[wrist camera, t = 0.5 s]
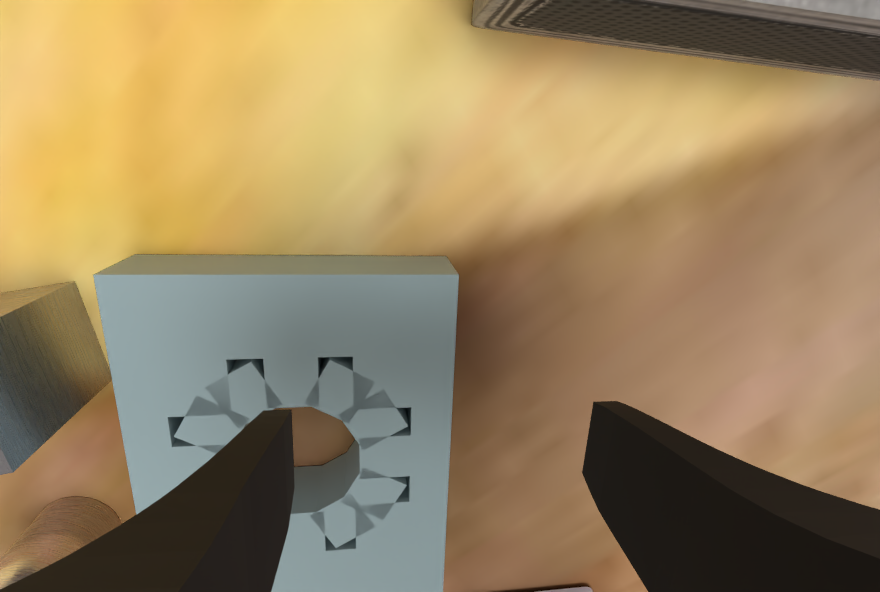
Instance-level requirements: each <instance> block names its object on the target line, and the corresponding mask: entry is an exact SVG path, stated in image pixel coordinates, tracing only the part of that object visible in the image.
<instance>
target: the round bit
mask: <svg viewBox="0 0 880 592" xmlns="http://www.w3.org/2000/svg"><path fill="white" fill-rule="evenodd" d="M119 525H121V522H120V520H119V518H118V516H117V515H116V513H115V512H114V511H113V510H112V509H111V508H110V507H108V506H107V505H105V504H104V503H102V502H100V501H97V500H95V499H91V498H87V497H66V498H62V499H59V500H56V501H54V502H52V503H51V504H49V505H48V506H47V507H45V508H44V509H43V511H42V512H41V513H40V514H39V515H38V516H37V517H36V519H35V520H34V521H33V522H32V523H31V524H30V525H29V526H28V528H27V529H26V530H25V531H24V532H23V533H22V534H21V536H20V537H19V538H18V539H17V540H16V541H15V542H14V544H13V545H12V546H11V547H10V548H9V549H8V550H7V551H6V553H5V554H4V555H3V556H2V557H1V558H0V589H2V588H4V587H6V586H8V585H10V584H12V583H14V582H17V581H19V580H21V579H23V578H25V577H27V576H29V575H31V574H33V573H35V572H37V571H39V570H41V569H43V568H45V567H47V566H49V565H50V564H52V563H54V562H56V561H58V560H60V559H62V558H64V557H66V556H68V555H69V554H71V553H73V552H75V551H76V550H78V549H80V548H82V547H83V546H85V545H87V544H88V543H90V542H92V541H94V540H95V539H97V538H99V537H100V536H102V535H104V534H106V533H107V532H109V531H111V530H113V529H114V528H116V527H118V526H119Z"/></svg>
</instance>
